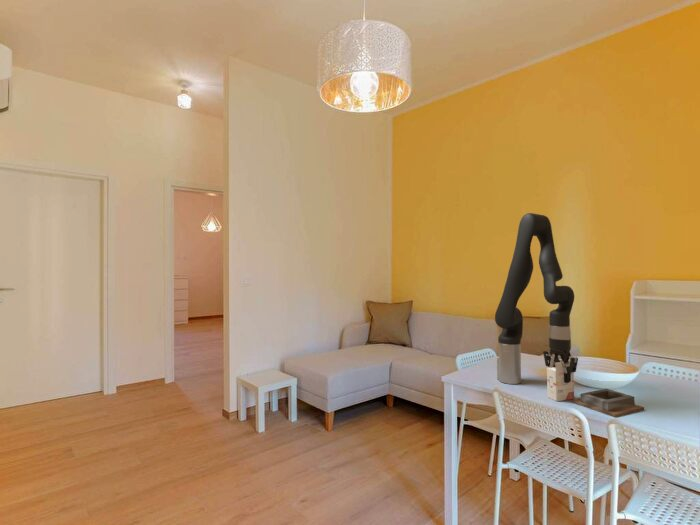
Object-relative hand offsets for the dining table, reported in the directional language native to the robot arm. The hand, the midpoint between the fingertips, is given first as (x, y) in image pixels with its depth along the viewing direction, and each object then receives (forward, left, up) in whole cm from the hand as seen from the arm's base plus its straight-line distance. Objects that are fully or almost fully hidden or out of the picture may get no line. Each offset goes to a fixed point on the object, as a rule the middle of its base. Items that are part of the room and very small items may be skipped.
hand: (560, 380), depth 154 cm
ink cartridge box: (0, 0, -7) cm, 7 cm away
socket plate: (+13, +8, -7) cm, 17 cm away
